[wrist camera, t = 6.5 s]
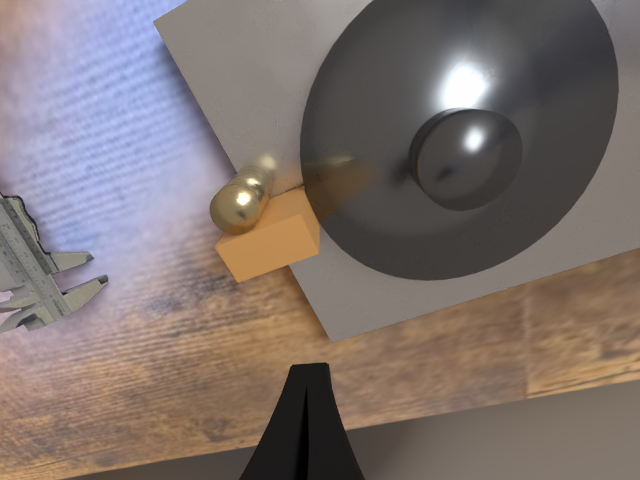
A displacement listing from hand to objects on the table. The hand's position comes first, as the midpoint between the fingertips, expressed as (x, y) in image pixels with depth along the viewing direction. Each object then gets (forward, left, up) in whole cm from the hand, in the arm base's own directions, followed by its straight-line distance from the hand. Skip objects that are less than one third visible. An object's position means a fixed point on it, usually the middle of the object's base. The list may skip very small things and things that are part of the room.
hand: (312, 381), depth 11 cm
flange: (-7, -4, -8) cm, 11 cm away
